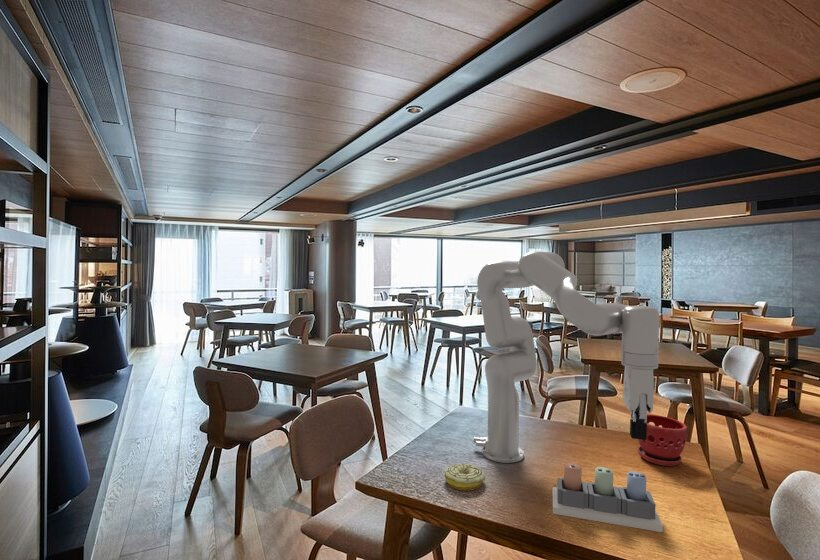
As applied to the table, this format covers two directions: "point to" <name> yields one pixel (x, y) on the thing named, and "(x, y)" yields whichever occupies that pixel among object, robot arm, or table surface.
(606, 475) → the button two pip
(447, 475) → the decorated donut
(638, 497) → the button three pip
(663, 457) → the plant pot
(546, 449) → the table surface
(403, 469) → the table surface
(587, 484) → the button board
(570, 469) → the button one pip
